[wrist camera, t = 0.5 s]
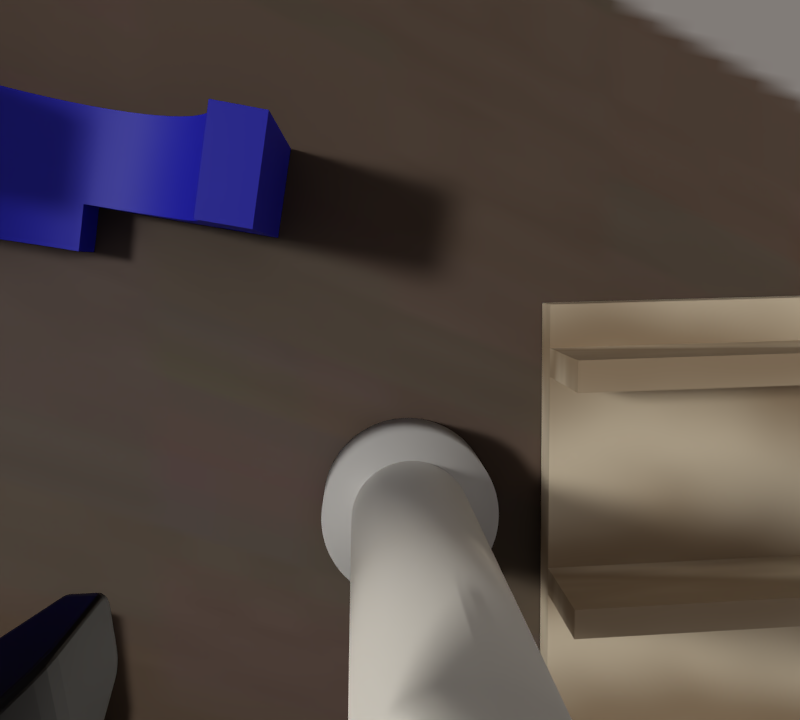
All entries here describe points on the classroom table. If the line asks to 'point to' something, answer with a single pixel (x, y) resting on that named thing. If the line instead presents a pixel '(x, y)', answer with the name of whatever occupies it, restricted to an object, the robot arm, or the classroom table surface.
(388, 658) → the white bulb knob
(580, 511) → the slot rack
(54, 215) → the blue curved cradle
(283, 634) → the classroom table surface
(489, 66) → the classroom table surface
